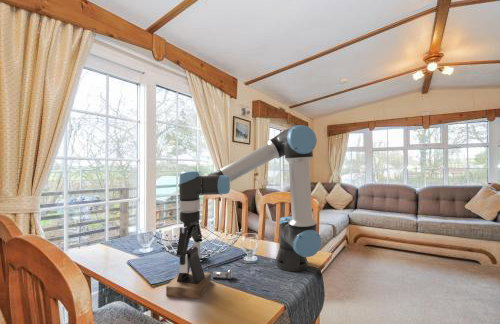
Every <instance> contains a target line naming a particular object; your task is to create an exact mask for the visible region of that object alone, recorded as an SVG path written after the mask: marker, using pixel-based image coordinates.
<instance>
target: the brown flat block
mask: <svg viewBox="0 0 500 324" xmlns="http://www.w3.org/2000/svg"><path fill="white" fill-rule="evenodd" d="M203 272H204V271H203ZM179 273H180V271H179V272H178V273H177V274H176V275H175V277H173V278H172V279H171V280H170V281H169V283H167V285H166V286H165V294H166V297H176V298H189V299H200V298H202V296H203V294H204V293H205V291H206V290H207V288H208V287H209V284H210V283H211V278H212V274H211V272H204V275H205V277H204V278H203V279H202V280H201V281H200V282H199V284H192V283H188V282H187V283H184V282H177V279H178V276H179ZM189 274H191V275H192V272H191V270H189Z"/></svg>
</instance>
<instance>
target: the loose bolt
mask: <svg viewBox="0 0 500 324" xmlns="http://www.w3.org/2000/svg"><path fill="white" fill-rule="evenodd" d="M211 278H214V279H226V280H232V278H233V269H232V268H229V269H227V272H226V271H224V272H223V271H212V274H211Z"/></svg>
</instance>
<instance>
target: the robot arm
mask: <svg viewBox="0 0 500 324" xmlns="http://www.w3.org/2000/svg"><path fill="white" fill-rule="evenodd" d="M316 145H317V135H316V133H315V131H314V130H313V129H312V128H311V127H309V126H308V125H304V124H300V125H299V124H298V125H294V126H292V127H290V128H289V127H288V128H286V129H284V130H283V131H281V132H280V133H278V134H276V136H273V138H271V139H269V140H267V143H266V144H264V145H262V146H261V147H258V148H257V149H255V150H253V151H251V152H249V153H247V154H246V155H244V156H242V157H240V158H238V159H236V160H235V161H233V162H231V163H229V164H227V165H225V166H223V167H221V168H219V169H218V170H216V171H214V172H211V173H208V174H207V175H200V172H199V171H197V170H186V171H185V170H184V171H181V172H180V173H179V183H178V185H179V186H178V188H179V203H178V205H179V211H180V212H179V222H182V223H183V226H181V227H179V237H178V242H177V249H176V254H175V255H176V256H178V257H179V272H180V273H187V272H188V263H187V255H186V253H187V250H189V245H190V240H191V238H192V240H193V242H192V243H193V245H192V247H193V246H194V247H195V246H196V247H197V248H198V256H199V259H201V243H202V241H203V234H202V231H201V226H200V218H201V216H200V215H201V214H200V208H201V207H200V206H201V205H200V201H201V200H200V196H205V195H206V196H208V195H209V196H212V195H213V196H214V195H217V196H218V195H220V196H222V195H228V194H229V193H230V191H231V183H232V182H233V181H236V180H237V179H239V178H241V177H243V176H244V175H246V174H248V173H250V172H252V171H254V170H255V169H257V168H259V167H261V166H263V165H265V164H267V163H269V162H270V161H272V160H274V159H277V160H278V159H280V158H282V157H284V159H285V161H287V163H288V171H289V189H290V190H289V191H290V193H289V194H290V208H291V216H289V215H288V216H282V217H280V218H279V223H278V226H279V237H278V238H279V242H278V243H279V244H278V245H279V247H278V248H279V249H278V251H277V254H276V258H275V266H276V267H277V268H278V269H280V270H283V271H286V272H302V271H304V270H306V269H307V268H308V266H309V264H308V258H310V257H313V256H315V255H316V254H318V252H320V249H321V248H322V244H323V243H322V237H321V234H319V232H318V230H317V228H318V227H317V221H316V220H315V219H314V218H313V210H312V209H313V208H312V207H313V206H312V204H313V203H312V187H311V167H310V166H311V160H313V158H314V151H313V150H315V148H316ZM194 247H193V248H194ZM193 248H192V249H193Z"/></svg>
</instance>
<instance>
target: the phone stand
mask: <svg viewBox="0 0 500 324" xmlns="http://www.w3.org/2000/svg"><path fill="white" fill-rule="evenodd" d="M193 247H194V246H193V245H192V246H191V247H190V248H188V249H187V253H186V255H187V263H188V272H187V273H179V272H178V273H179V276H178V279H177V282H184V283H187V282H188V283H192V284H199V282H200V281H201V280H202V279H203V278H204V277H205V275H204V269H203V266H202V263H201V260H200V259H201V258H199V256H198V248H197V247H196V246H195V247H194V248H193ZM189 271H191V272H192V275H191V274H189Z"/></svg>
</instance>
